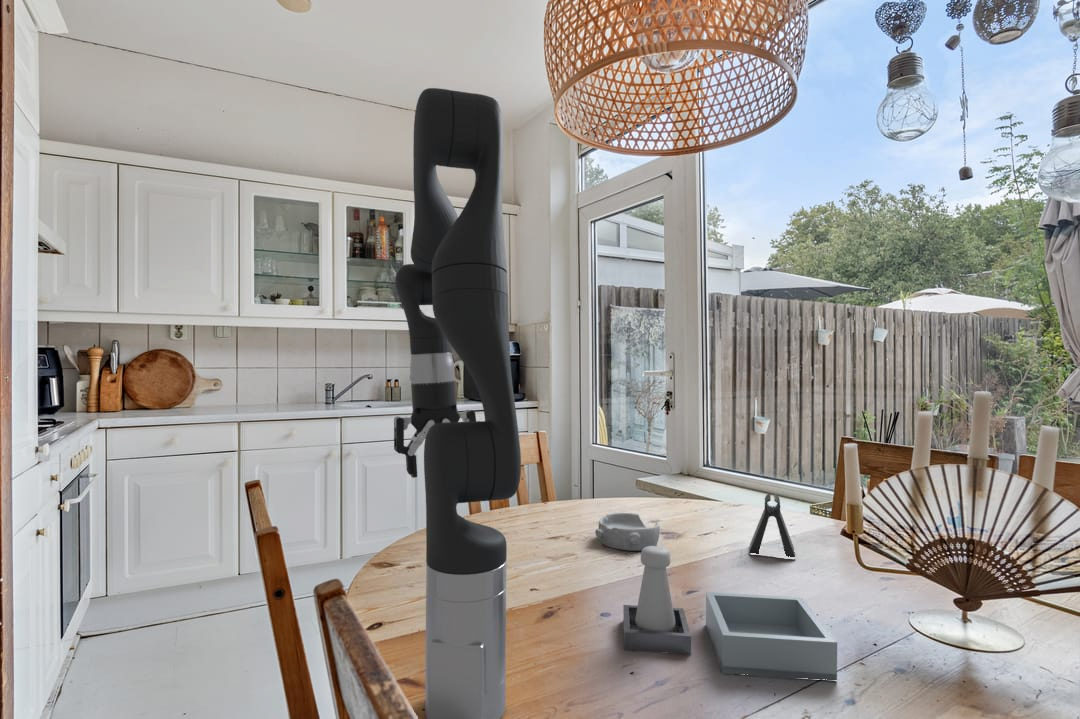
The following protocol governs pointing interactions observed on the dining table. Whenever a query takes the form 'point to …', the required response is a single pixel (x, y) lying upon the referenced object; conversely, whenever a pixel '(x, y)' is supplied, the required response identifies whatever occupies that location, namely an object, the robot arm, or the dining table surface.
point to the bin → (769, 637)
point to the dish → (626, 532)
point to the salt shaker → (655, 592)
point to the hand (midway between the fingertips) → (438, 473)
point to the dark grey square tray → (656, 634)
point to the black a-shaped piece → (762, 525)
